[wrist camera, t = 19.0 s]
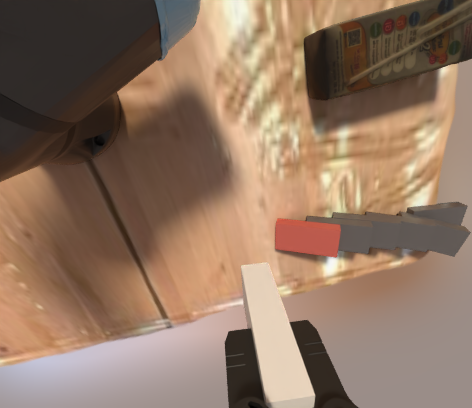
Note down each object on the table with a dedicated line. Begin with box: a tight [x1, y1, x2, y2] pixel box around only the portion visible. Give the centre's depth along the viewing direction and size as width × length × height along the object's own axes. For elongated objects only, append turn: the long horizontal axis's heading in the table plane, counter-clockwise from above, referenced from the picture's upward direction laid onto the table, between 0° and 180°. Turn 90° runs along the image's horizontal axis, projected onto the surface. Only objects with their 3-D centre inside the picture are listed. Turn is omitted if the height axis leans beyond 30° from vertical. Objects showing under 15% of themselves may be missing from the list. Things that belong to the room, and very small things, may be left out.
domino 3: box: [365, 212, 437, 252], centre depth 43 cm, size 2×5×10 cm
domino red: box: [275, 219, 341, 257], centre depth 41 cm, size 2×5×10 cm
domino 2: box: [333, 212, 402, 250], centre depth 42 cm, size 2×5×10 cm
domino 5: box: [398, 211, 470, 257], centre depth 43 cm, size 2×5×10 cm
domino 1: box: [306, 216, 373, 254], centre depth 42 cm, size 2×5×10 cm
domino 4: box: [406, 202, 467, 226], centre depth 45 cm, size 2×5×10 cm
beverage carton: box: [304, 0, 472, 100], centre depth 31 cm, size 8×19×7 cm, turn 104°
